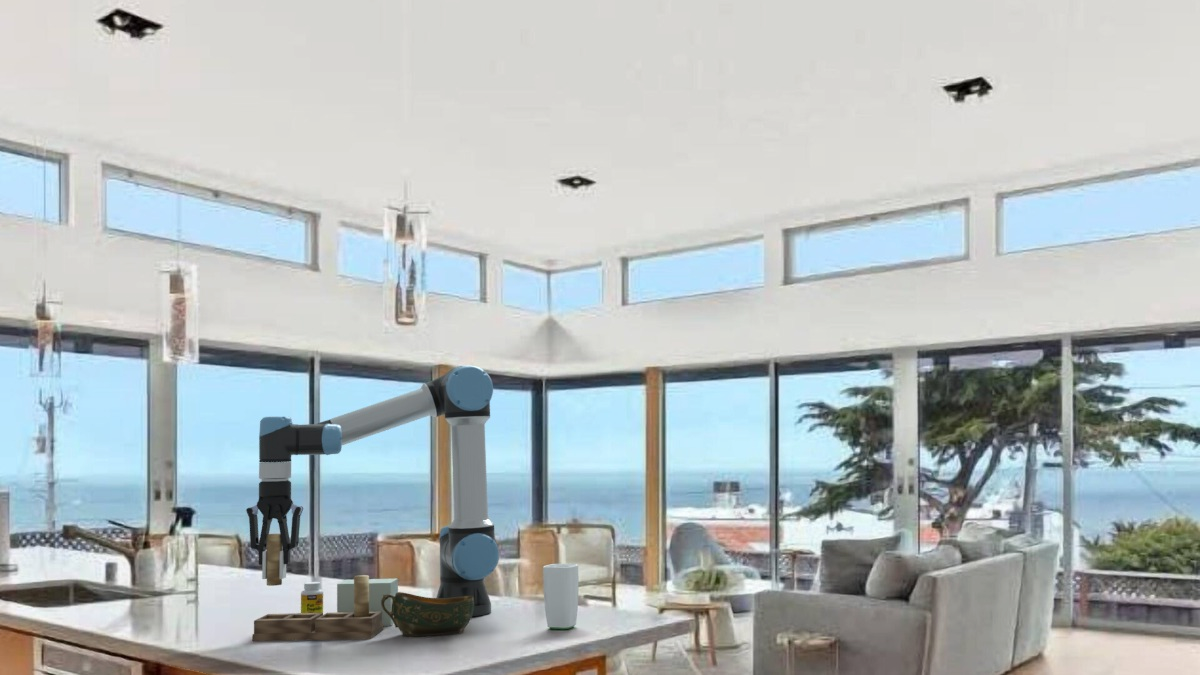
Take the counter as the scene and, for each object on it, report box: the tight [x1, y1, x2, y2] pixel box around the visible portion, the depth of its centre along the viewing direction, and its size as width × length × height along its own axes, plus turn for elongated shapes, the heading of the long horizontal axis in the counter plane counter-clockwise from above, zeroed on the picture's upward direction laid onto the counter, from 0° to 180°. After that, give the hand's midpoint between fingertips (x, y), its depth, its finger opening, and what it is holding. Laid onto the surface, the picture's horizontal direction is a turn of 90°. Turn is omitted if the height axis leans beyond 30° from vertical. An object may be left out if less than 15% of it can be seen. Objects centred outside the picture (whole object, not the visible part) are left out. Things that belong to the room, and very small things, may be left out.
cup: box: [542, 563, 579, 630], centre depth 261 cm, size 7×7×15 cm
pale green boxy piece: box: [336, 578, 399, 627], centre depth 275 cm, size 14×9×10 cm, turn 89°
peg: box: [266, 533, 283, 587], centre depth 261 cm, size 4×4×12 cm
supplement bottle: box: [300, 581, 324, 614], centre depth 277 cm, size 6×6×10 cm
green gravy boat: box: [381, 591, 474, 638], centre depth 258 cm, size 13×20×10 cm, turn 78°
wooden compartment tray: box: [252, 574, 384, 642], centre depth 259 cm, size 28×12×14 cm, turn 89°
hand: (274, 578), depth 260 cm, fingers closed on peg, 3 cm apart
